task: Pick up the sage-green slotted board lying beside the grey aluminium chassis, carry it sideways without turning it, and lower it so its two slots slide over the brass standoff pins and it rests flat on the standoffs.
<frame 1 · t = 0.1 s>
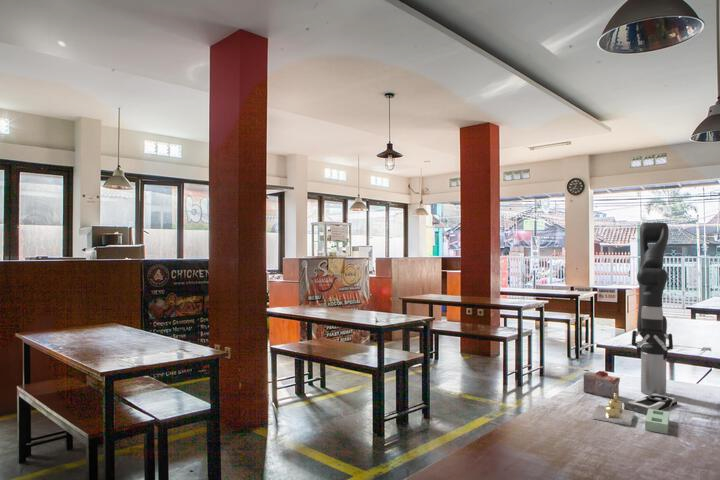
hand: (651, 358, 199), 17 cm above the table, tool pointing down, fingers open, 8 cm apart
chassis: (613, 417, 178), on the table
board: (657, 424, 171), on the table
food item: (601, 395, 207), on the table
graphics card: (652, 409, 191), on the table
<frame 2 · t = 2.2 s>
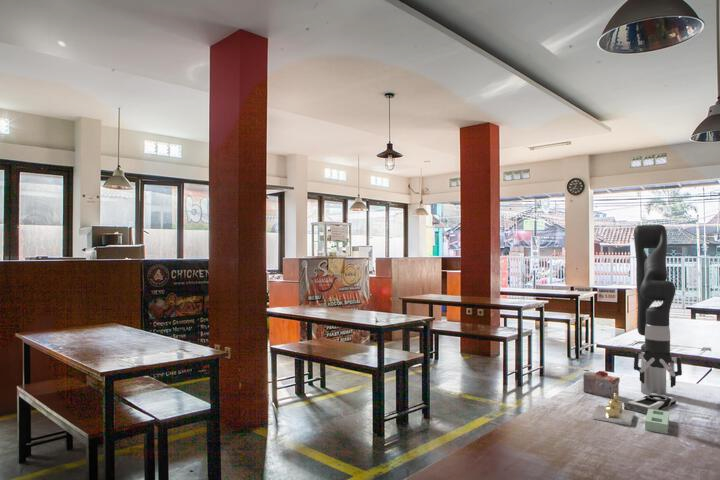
hand: (657, 384, 171), 14 cm above the table, tool pointing down, fingers open, 8 cm apart
nothing on the table moved.
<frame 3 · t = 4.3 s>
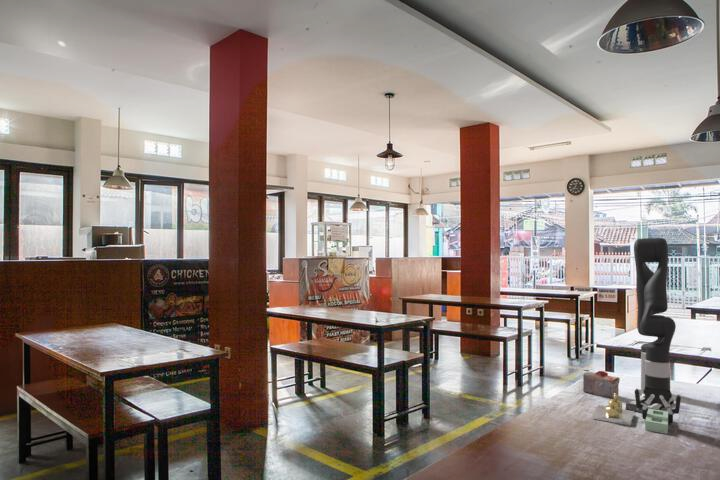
hand: (657, 422, 171), 1 cm above the table, tool pointing down, fingers closed on board, 6 cm apart
board: (657, 424, 171), on the table, touching gripper
everything else where it was.
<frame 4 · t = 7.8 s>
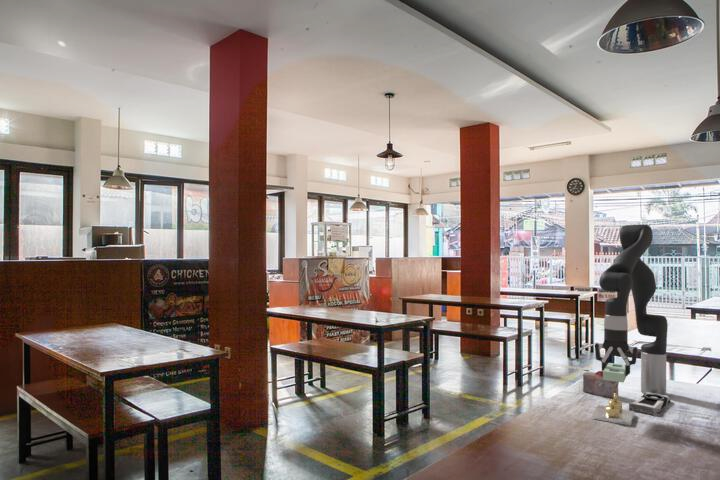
hand: (615, 373, 178), 16 cm above the table, tool pointing down, fingers closed on board, 6 cm apart
board: (615, 376, 178), point 15 cm above the table, touching gripper
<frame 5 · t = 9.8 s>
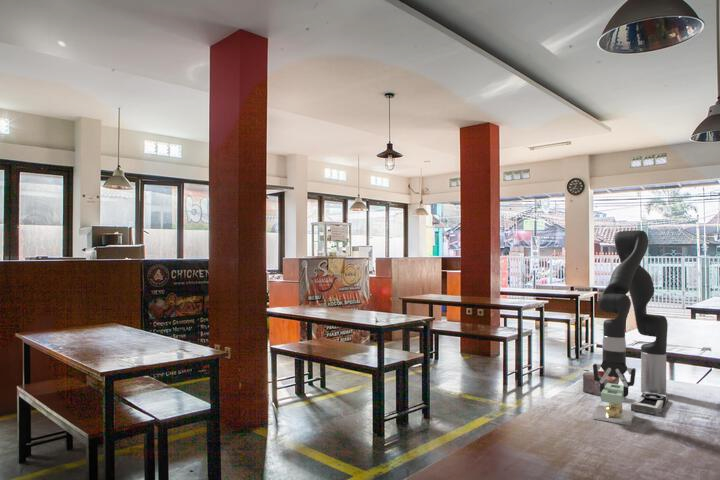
hand: (613, 394, 179), 8 cm above the table, tool pointing down, fingers closed on board, 6 cm apart
board: (613, 397, 178), point 7 cm above the table, touching gripper
when the fingers open (6 cm above the table, at t = 11.6 s): board stays where it is, resting on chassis.
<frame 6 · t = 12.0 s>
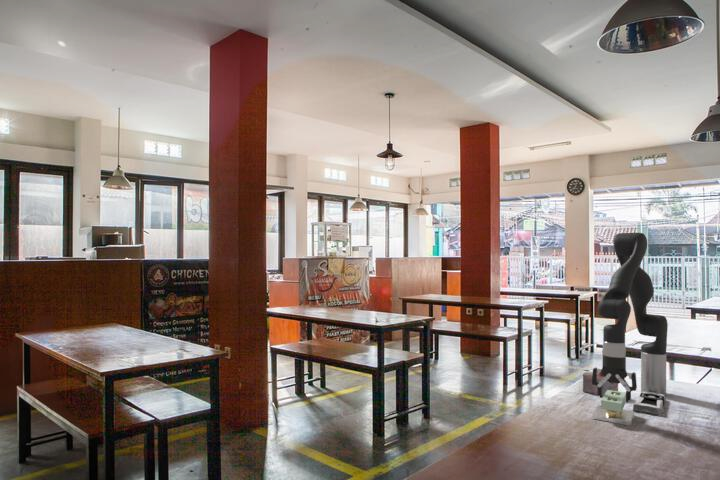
hand: (613, 399, 179), 6 cm above the table, tool pointing down, fingers open, 8 cm apart
board: (614, 404, 178), point 4 cm above the table, touching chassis
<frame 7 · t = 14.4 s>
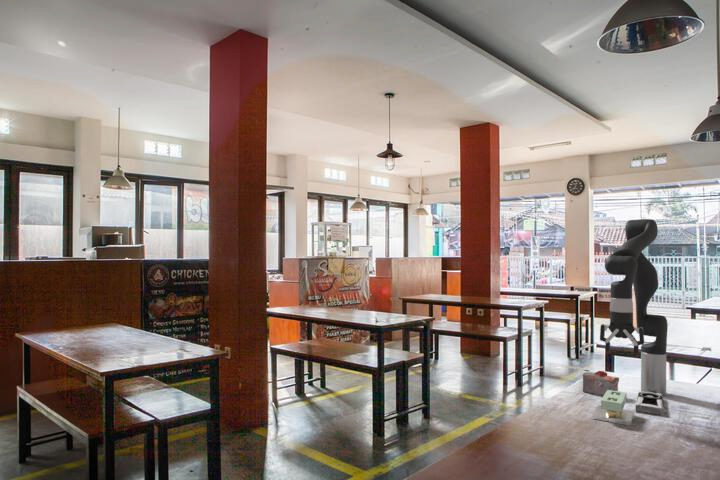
hand: (621, 354, 181), 22 cm above the table, tool pointing down, fingers open, 8 cm apart
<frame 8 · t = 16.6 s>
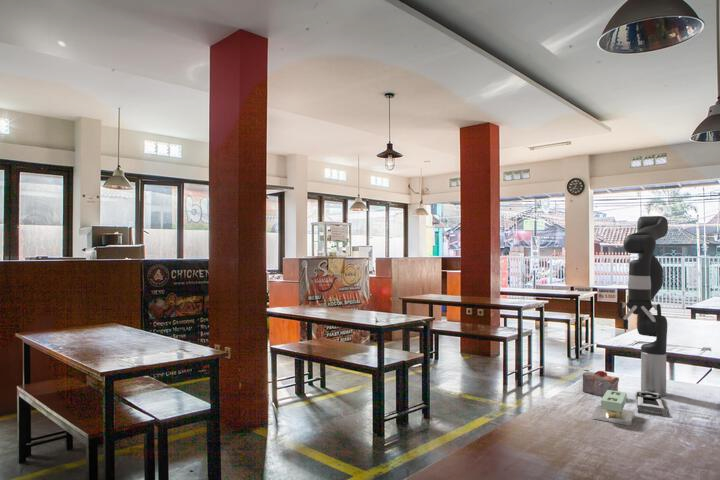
hand: (639, 330, 187), 30 cm above the table, tool pointing down, fingers open, 8 cm apart
at the end: board 0.0 cm off-centre on the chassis, point 4.5 cm above the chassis's base; board tilted 0°; the gripper is holding nothing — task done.
